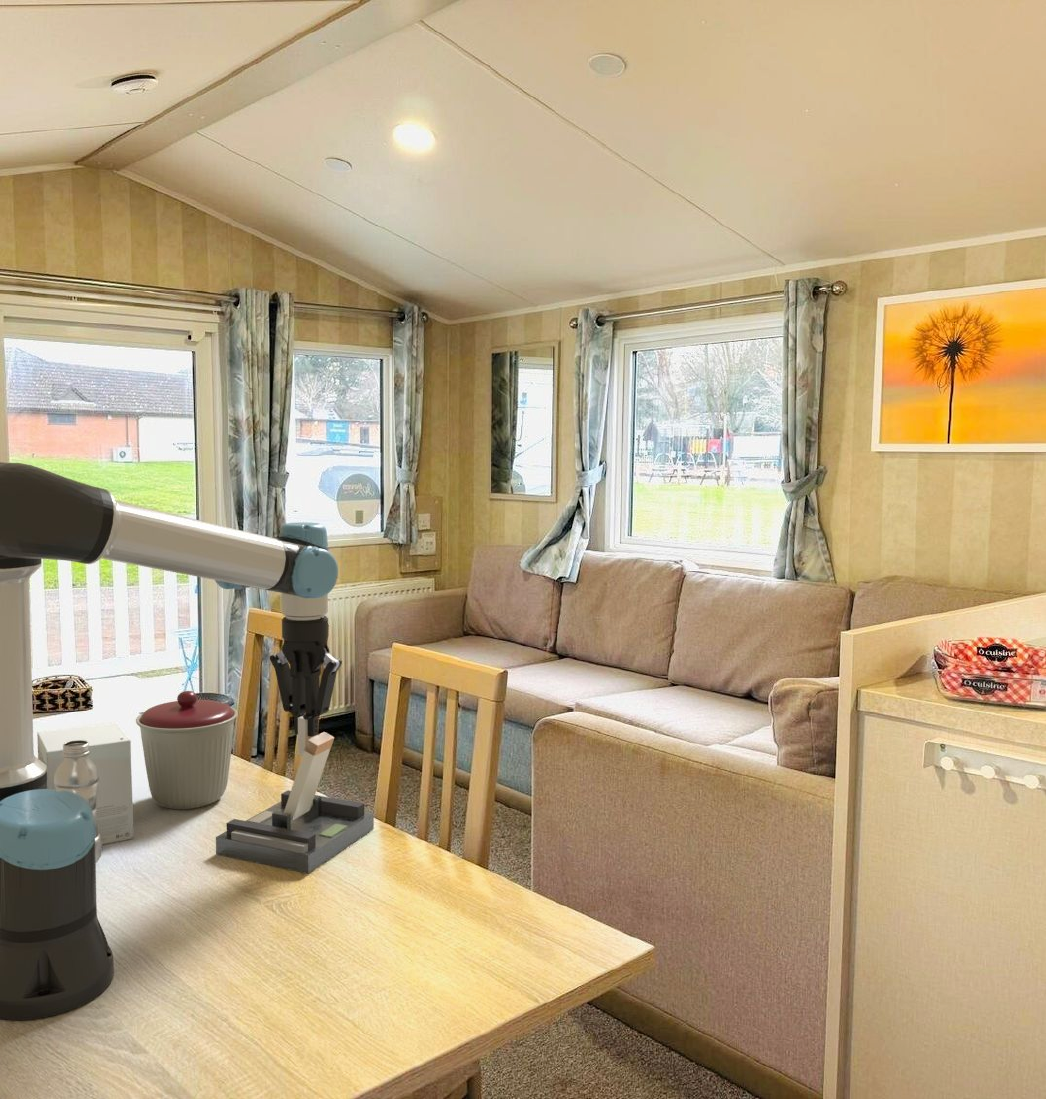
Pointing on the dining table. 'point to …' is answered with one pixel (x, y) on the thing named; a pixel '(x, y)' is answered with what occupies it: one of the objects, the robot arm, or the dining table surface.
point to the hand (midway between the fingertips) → (306, 753)
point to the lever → (308, 775)
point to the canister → (187, 750)
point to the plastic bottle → (80, 779)
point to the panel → (327, 828)
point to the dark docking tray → (287, 837)
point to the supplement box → (113, 768)
